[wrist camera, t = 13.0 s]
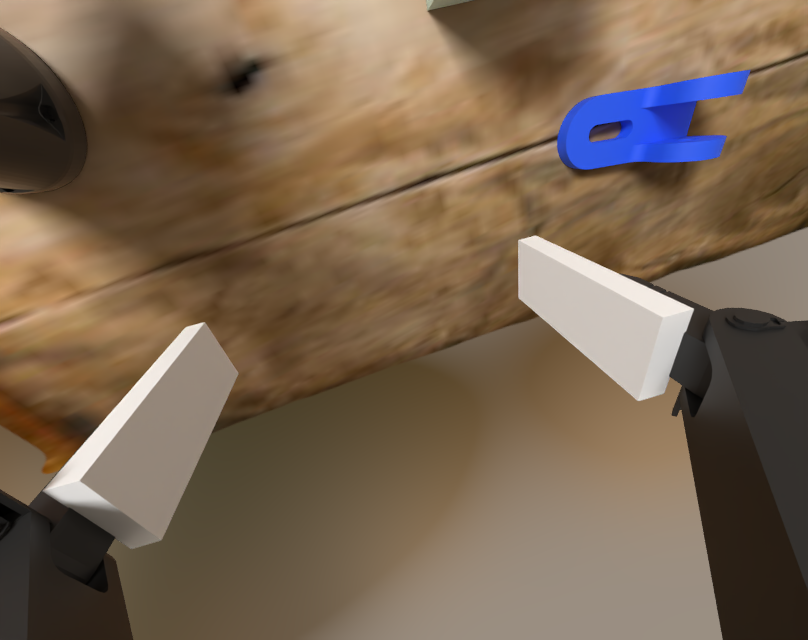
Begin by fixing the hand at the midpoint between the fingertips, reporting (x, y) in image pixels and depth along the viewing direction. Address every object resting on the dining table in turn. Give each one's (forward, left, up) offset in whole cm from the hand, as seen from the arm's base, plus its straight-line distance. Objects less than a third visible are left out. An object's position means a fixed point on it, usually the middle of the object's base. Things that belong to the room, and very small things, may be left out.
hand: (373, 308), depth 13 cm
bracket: (+18, +33, -32) cm, 49 cm away
